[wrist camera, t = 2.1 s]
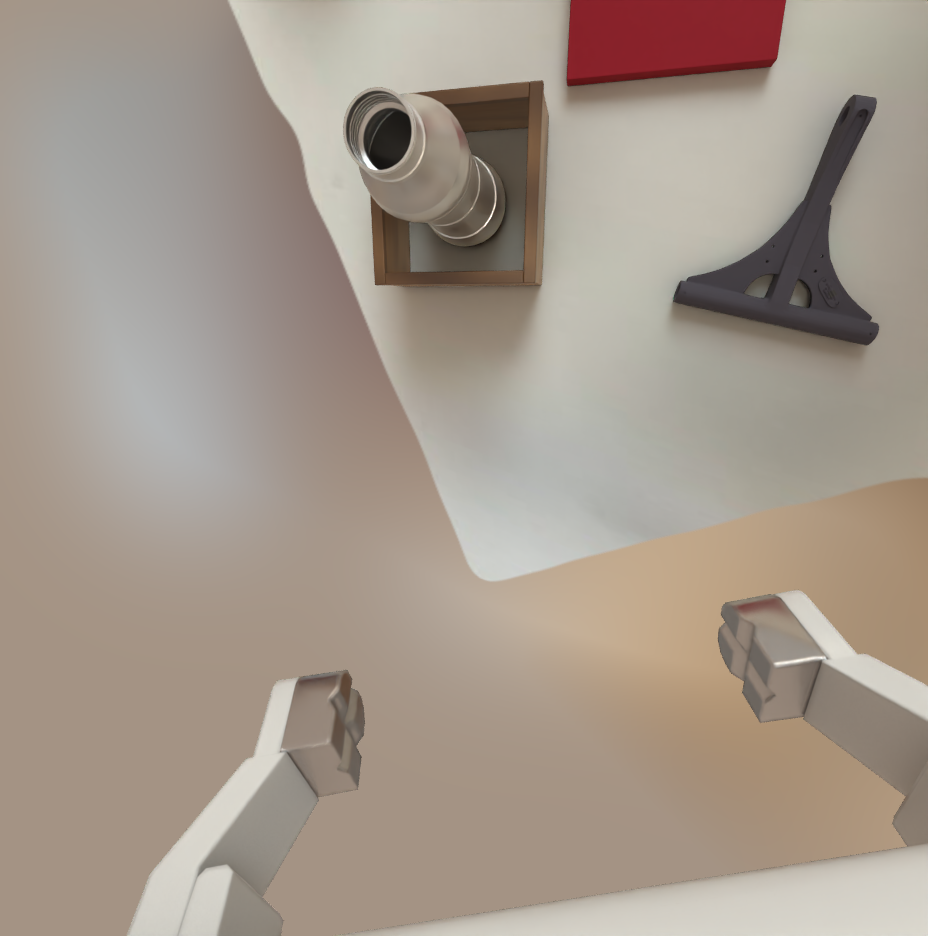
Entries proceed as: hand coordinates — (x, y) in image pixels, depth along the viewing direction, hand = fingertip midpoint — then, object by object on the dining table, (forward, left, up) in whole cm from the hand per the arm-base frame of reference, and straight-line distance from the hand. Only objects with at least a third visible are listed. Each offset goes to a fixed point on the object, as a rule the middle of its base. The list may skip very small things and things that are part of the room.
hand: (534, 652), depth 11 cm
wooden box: (-15, -10, -37) cm, 41 cm away
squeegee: (-13, +16, -37) cm, 42 cm away
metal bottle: (-15, -10, -37) cm, 41 cm away
